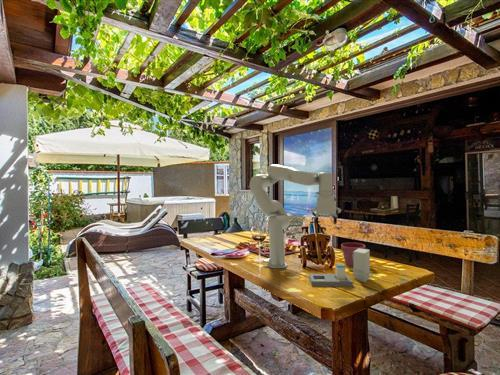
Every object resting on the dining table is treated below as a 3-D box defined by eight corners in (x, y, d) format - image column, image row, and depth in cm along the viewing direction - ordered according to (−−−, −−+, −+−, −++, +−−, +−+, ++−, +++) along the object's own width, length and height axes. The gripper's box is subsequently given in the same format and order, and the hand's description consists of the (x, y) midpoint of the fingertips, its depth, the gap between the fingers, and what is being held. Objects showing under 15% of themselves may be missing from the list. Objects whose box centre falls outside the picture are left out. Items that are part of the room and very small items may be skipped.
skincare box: (358, 276, 164) (358, 247, 163) (370, 278, 160) (370, 249, 159) (352, 280, 157) (352, 250, 157) (365, 282, 153) (365, 252, 153)
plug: (337, 283, 151) (337, 265, 151) (335, 280, 155) (335, 263, 155) (345, 283, 150) (345, 265, 150) (343, 280, 154) (343, 263, 154)
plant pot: (348, 269, 176) (348, 248, 176) (337, 263, 190) (337, 243, 189) (370, 267, 179) (370, 246, 178) (357, 261, 192) (357, 241, 192)
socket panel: (311, 287, 148) (311, 280, 148) (309, 279, 160) (309, 273, 160) (352, 287, 146) (352, 281, 146) (347, 279, 158) (347, 273, 158)
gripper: (310, 194, 165) (311, 225, 165) (342, 194, 163) (343, 225, 164) (309, 194, 172) (309, 223, 173) (339, 193, 171) (340, 223, 171)
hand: (326, 224), depth 168 cm, fingers open, 9 cm apart
